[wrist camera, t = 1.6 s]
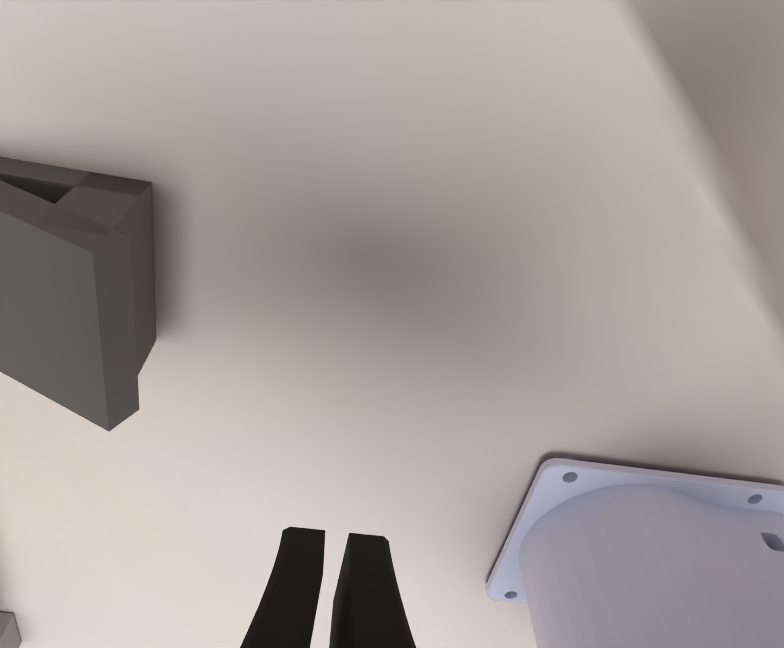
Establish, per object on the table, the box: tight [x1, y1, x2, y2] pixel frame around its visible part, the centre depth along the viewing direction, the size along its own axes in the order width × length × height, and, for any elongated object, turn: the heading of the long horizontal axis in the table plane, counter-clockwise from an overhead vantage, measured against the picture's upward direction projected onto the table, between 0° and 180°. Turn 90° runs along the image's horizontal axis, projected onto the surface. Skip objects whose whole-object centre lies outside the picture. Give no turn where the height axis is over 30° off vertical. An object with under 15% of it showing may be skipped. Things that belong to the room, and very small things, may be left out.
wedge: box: [0, 157, 156, 431], centre depth 15 cm, size 6×5×4 cm
